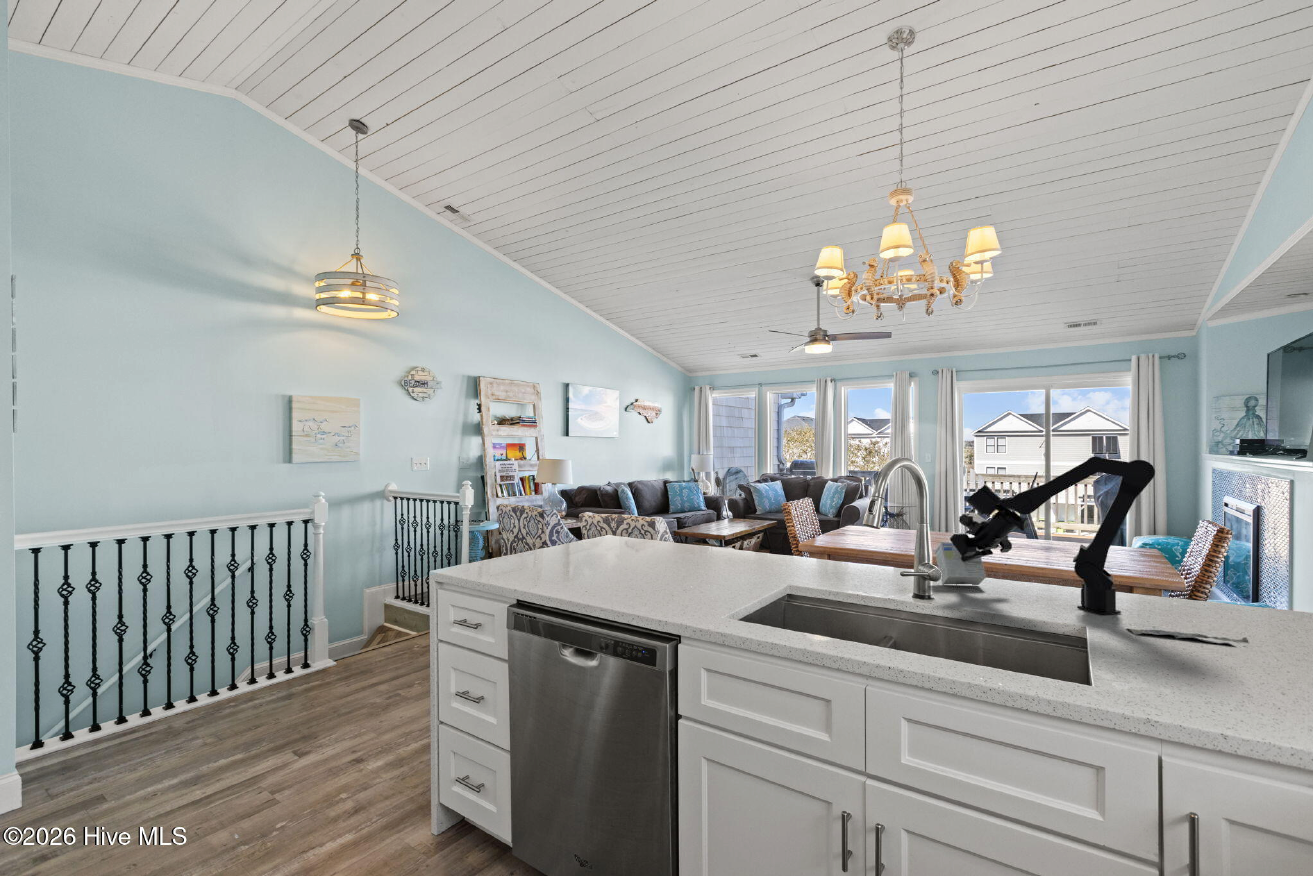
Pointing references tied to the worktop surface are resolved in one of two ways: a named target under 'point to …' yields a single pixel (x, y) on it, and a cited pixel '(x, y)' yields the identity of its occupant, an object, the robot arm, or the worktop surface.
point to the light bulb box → (958, 566)
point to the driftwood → (1178, 635)
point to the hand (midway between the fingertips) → (962, 560)
